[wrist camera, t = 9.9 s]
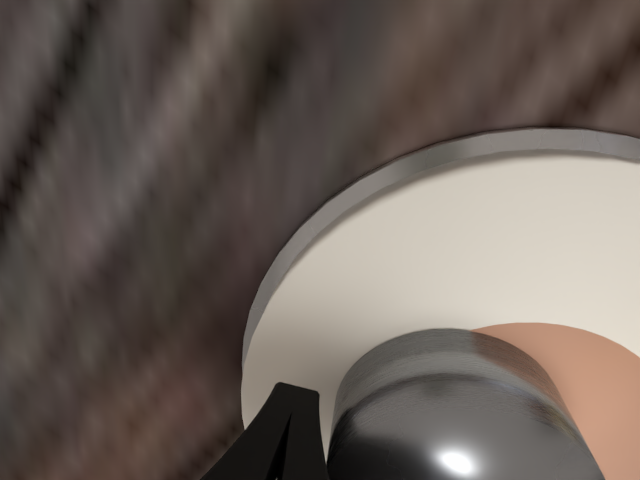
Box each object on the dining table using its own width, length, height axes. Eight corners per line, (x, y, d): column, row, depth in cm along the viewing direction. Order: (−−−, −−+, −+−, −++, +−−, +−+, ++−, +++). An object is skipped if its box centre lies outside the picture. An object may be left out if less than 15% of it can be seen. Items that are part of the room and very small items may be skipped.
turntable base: (628, 600, 19) (634, 613, 18) (223, 491, 20) (219, 502, 19) (985, 212, 11) (1011, 219, 11) (287, 61, 12) (283, 61, 11)
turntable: (895, 473, 14) (1201, 718, 9) (426, 603, 20) (442, 790, 15) (655, -10, 10) (965, -91, 4) (158, 343, 16) (52, 477, 11)
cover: (607, 446, 13) (669, 552, 10) (418, 520, 15) (426, 622, 12) (476, 286, 11) (507, 359, 8) (290, 397, 14) (268, 482, 11)
